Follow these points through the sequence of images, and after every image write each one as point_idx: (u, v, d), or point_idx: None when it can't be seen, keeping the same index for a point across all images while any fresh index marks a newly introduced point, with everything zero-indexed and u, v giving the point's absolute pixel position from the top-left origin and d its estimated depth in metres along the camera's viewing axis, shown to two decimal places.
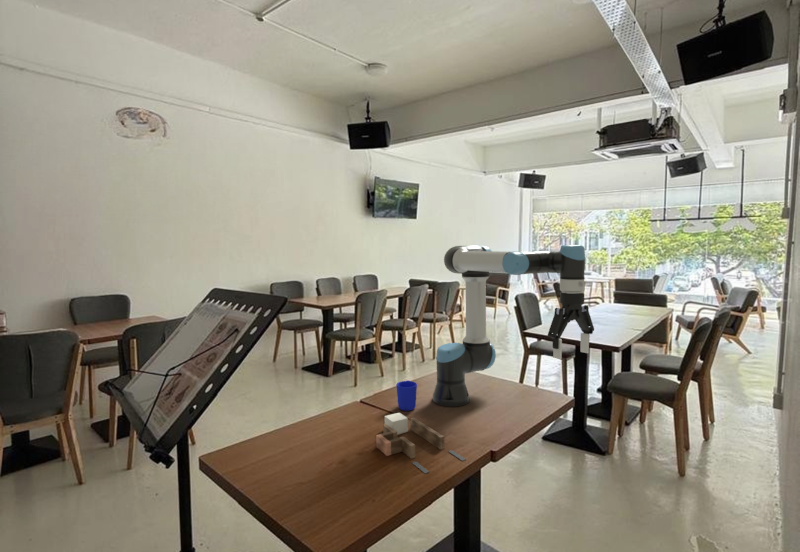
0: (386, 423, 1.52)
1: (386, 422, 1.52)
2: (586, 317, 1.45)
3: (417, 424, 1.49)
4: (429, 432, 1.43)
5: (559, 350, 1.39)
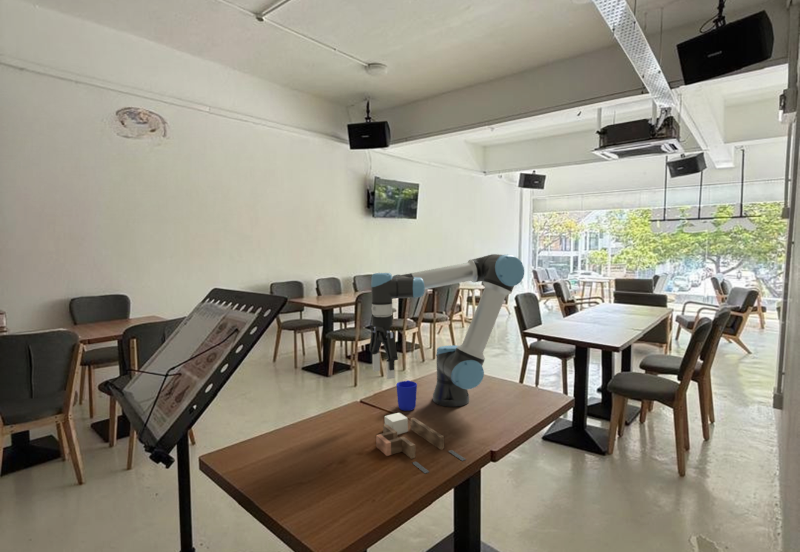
0: (386, 423, 1.52)
1: (386, 422, 1.52)
2: None
3: (417, 424, 1.49)
4: (429, 432, 1.43)
5: None
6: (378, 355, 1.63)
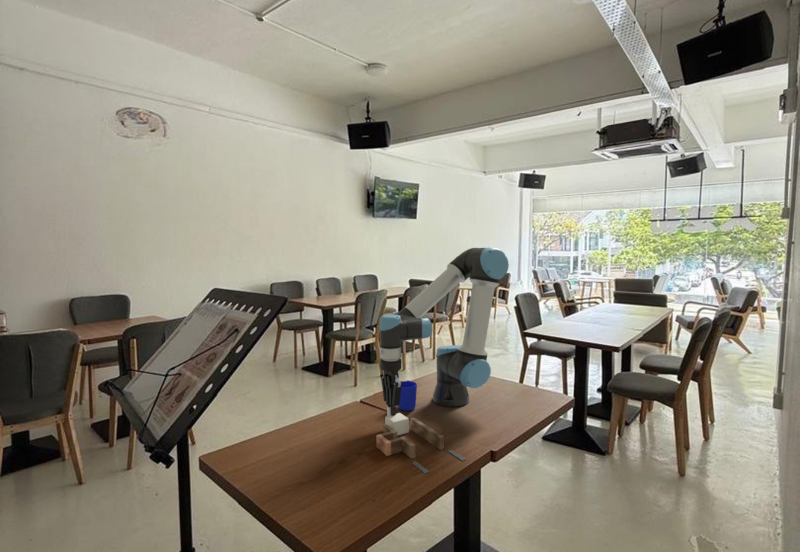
0: (387, 423, 1.52)
1: (387, 422, 1.51)
2: None
3: (417, 424, 1.49)
4: (429, 432, 1.43)
5: None
6: None
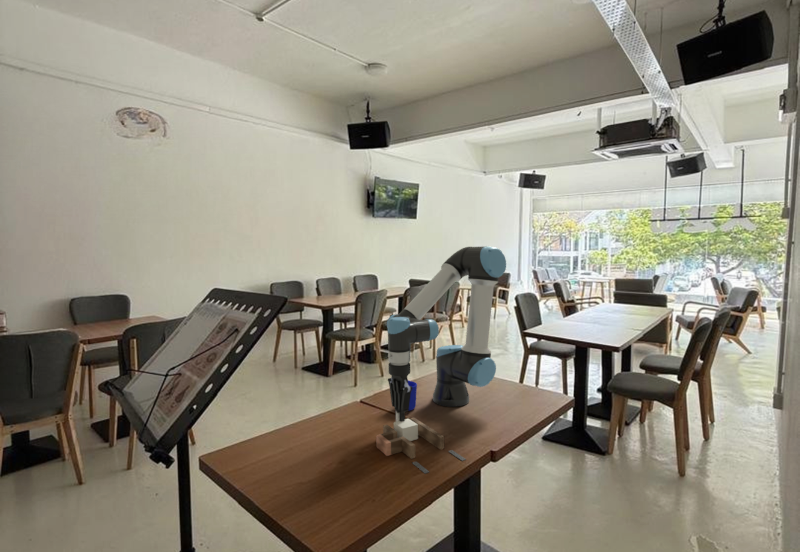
0: (395, 430, 1.46)
1: (395, 429, 1.46)
2: None
3: None
4: (429, 432, 1.43)
5: None
6: None
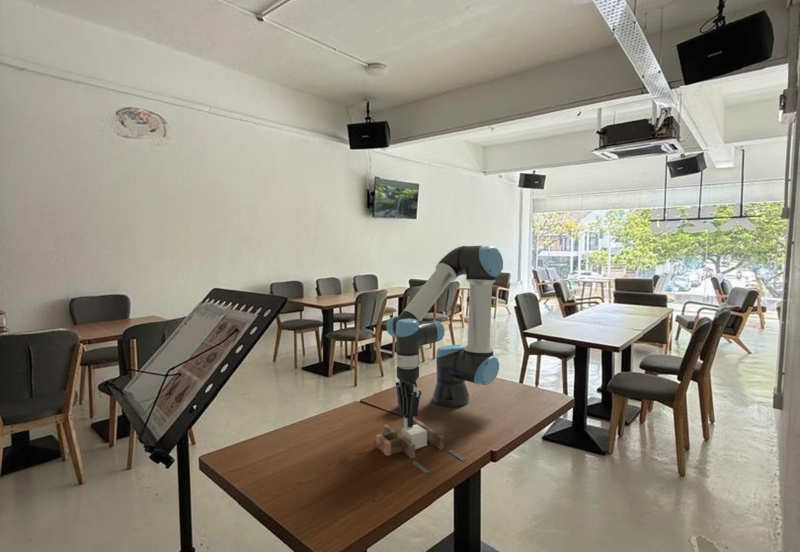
0: None
1: (403, 435, 1.41)
2: None
3: (417, 424, 1.49)
4: (429, 432, 1.43)
5: None
6: None
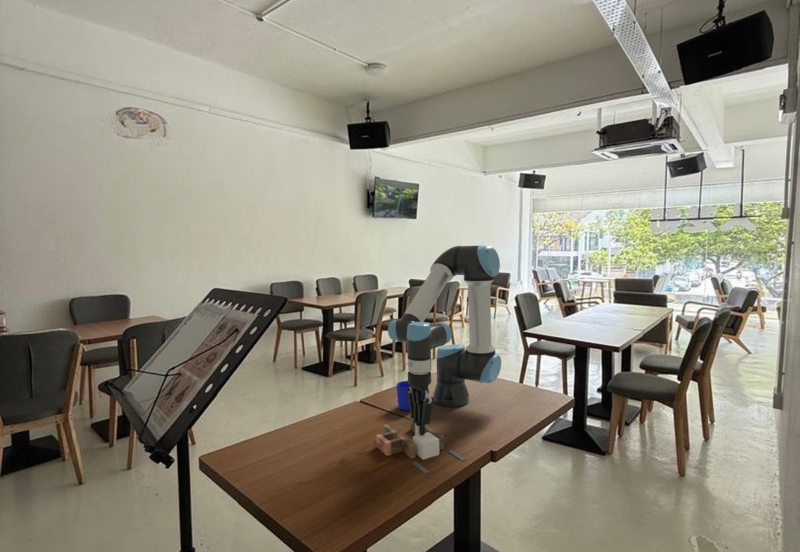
0: (415, 444, 1.35)
1: (415, 443, 1.35)
2: None
3: None
4: (429, 432, 1.43)
5: None
6: None
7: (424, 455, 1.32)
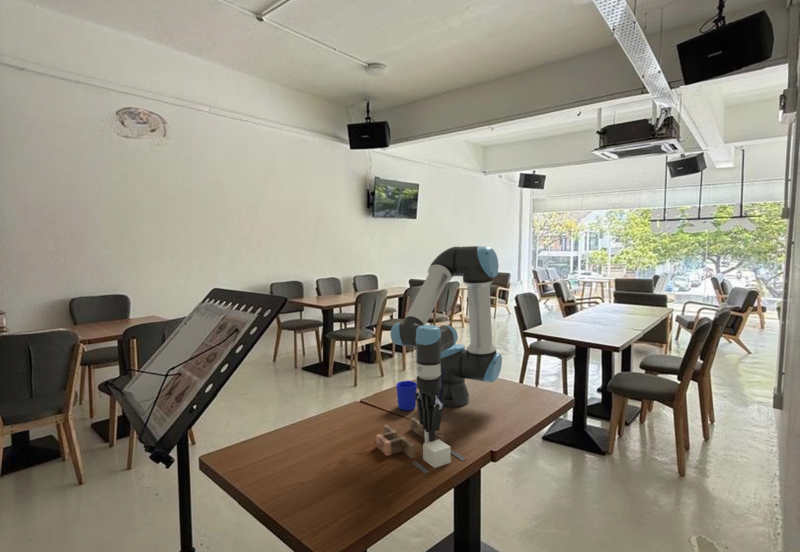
0: (425, 452, 1.30)
1: (425, 451, 1.30)
2: None
3: (417, 424, 1.49)
4: None
5: None
6: None
7: (435, 464, 1.27)
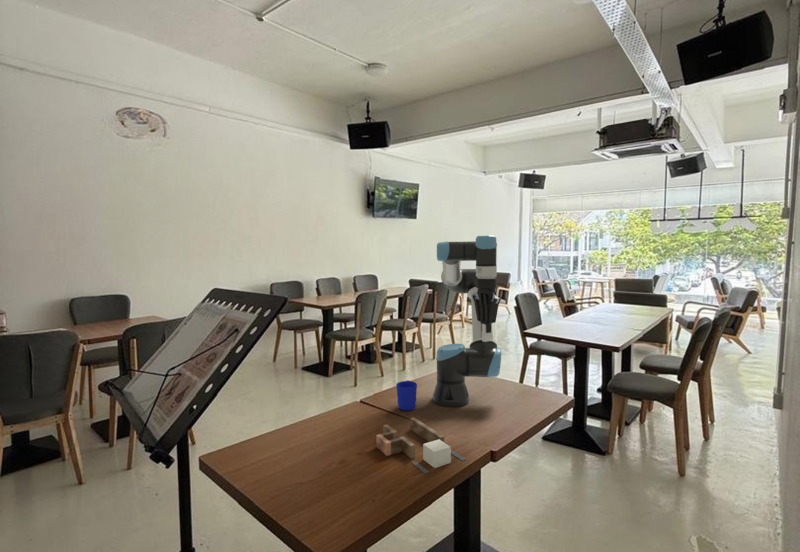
0: (425, 452, 1.30)
1: (425, 451, 1.30)
2: None
3: (417, 424, 1.49)
4: (429, 432, 1.43)
5: None
6: None
7: (435, 464, 1.27)
